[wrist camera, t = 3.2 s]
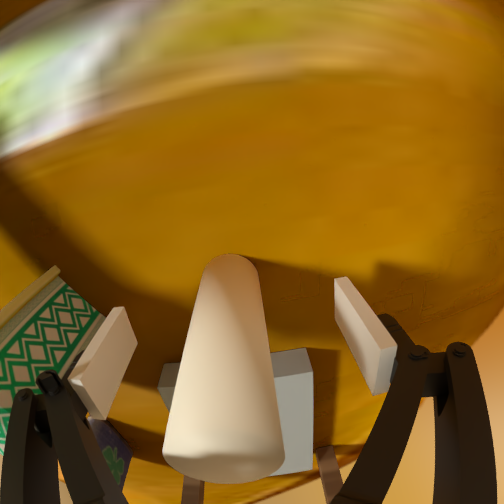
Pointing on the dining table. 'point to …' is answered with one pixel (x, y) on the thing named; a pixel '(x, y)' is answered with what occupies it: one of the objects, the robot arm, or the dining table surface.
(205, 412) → the peg
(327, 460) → the curved red bench
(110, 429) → the flask
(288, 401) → the socket block
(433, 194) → the dining table surface
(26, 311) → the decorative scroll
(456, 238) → the dining table surface
